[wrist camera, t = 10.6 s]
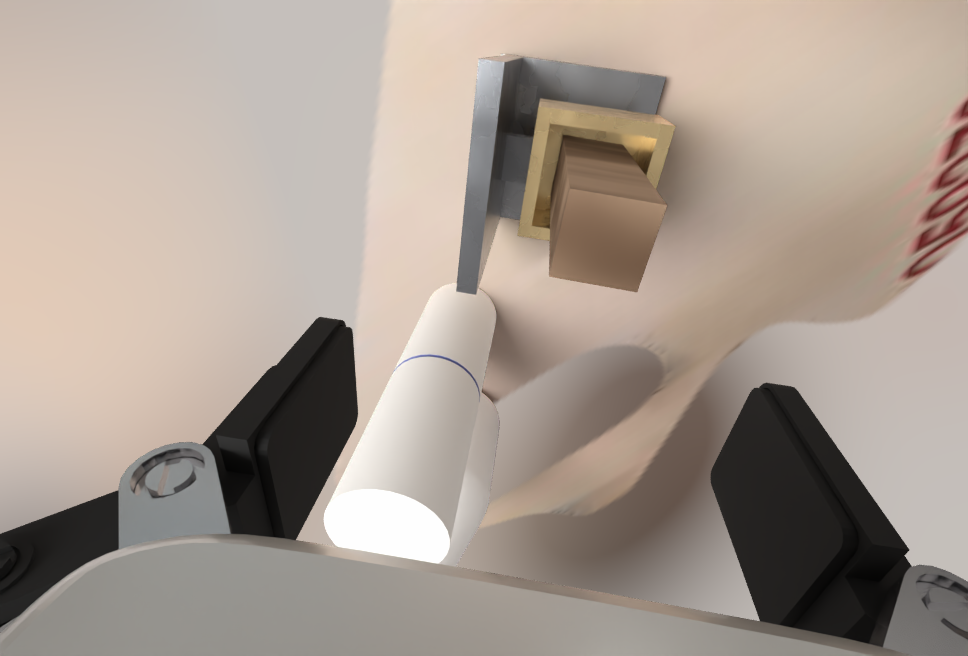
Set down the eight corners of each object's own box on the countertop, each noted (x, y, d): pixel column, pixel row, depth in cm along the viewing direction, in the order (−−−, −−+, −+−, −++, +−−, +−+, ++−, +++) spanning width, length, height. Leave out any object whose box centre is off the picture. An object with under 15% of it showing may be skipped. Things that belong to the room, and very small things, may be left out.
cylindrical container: (510, 306, 46) (473, 529, 25) (473, 355, 50) (414, 587, 28) (447, 269, 45) (352, 469, 24) (414, 322, 48) (306, 537, 27)
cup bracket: (502, 53, 35) (470, 57, 21) (662, 76, 35) (735, 94, 21) (483, 209, 41) (449, 290, 28) (619, 230, 41) (653, 323, 27)
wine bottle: (424, 371, 52) (299, 689, 26) (508, 391, 52) (465, 730, 26) (414, 432, 57) (299, 750, 31) (490, 451, 56) (440, 784, 31)
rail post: (563, 134, 31) (569, 188, 19) (623, 144, 31) (667, 205, 19) (550, 194, 33) (549, 276, 21) (606, 204, 33) (637, 292, 21)
